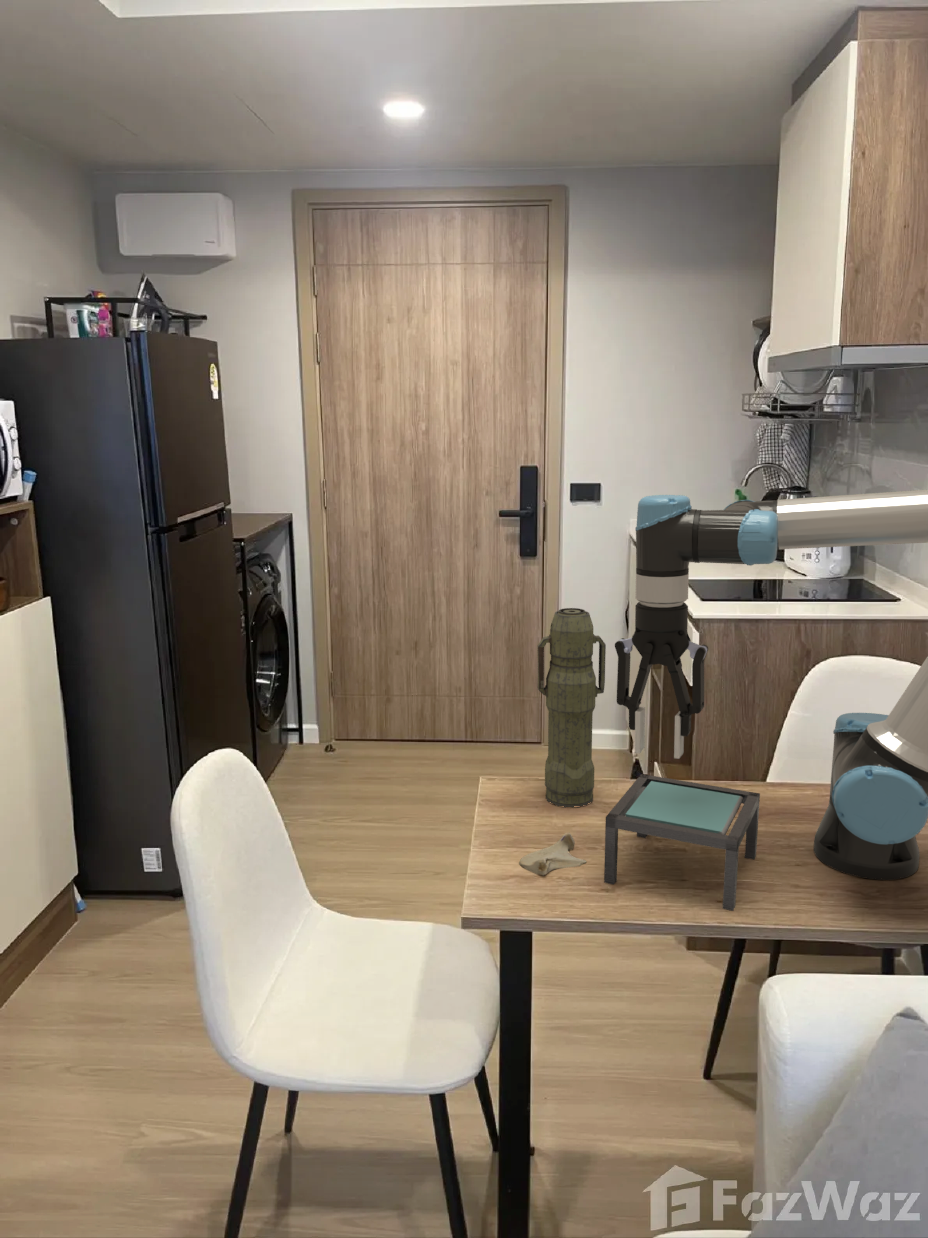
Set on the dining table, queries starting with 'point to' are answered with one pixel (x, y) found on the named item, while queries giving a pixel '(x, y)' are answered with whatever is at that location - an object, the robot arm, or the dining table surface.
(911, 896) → the dining table surface
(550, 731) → the thermos
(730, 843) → the frame
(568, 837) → the fossil
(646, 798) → the trapdoor
